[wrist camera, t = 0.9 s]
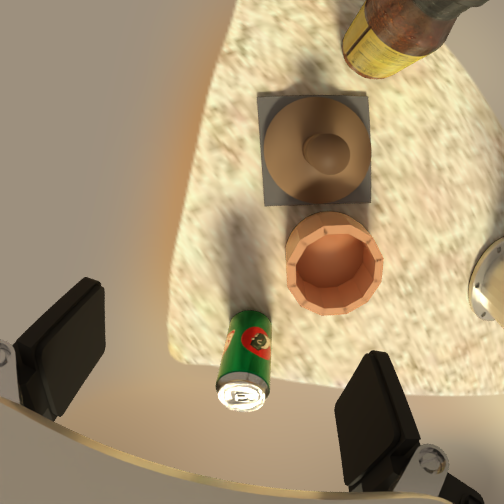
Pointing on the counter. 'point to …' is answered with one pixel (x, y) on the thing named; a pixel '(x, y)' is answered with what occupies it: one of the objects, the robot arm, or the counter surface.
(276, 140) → the lid
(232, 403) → the soda can
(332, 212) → the bowl
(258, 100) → the mat
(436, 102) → the counter surface
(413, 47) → the sauce bottle
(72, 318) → the robot arm
